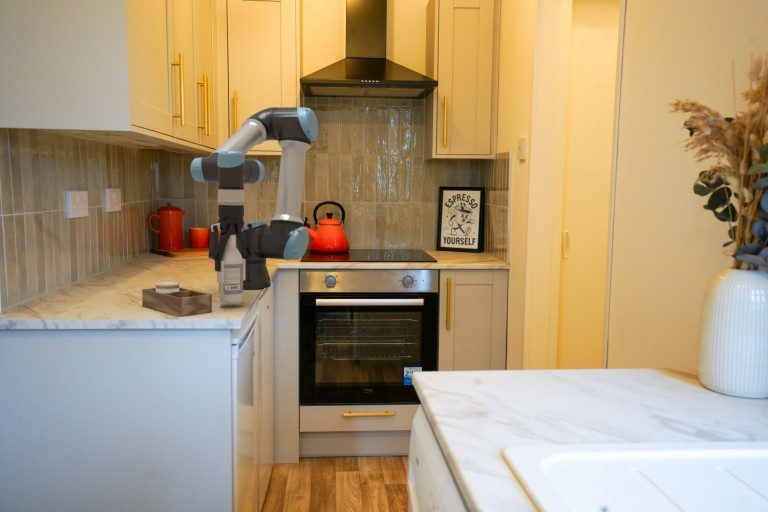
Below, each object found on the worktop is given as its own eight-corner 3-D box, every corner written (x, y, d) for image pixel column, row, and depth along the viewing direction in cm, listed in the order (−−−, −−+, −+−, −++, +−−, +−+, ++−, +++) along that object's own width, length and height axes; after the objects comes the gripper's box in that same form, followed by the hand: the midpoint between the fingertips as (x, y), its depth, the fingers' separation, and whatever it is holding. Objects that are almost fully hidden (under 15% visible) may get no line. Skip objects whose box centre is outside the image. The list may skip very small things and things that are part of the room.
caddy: (174, 302, 202) (174, 285, 201) (211, 312, 189) (211, 294, 188) (142, 305, 194) (142, 289, 194) (179, 316, 181) (179, 298, 180)
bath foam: (247, 301, 198) (247, 234, 196) (227, 304, 193) (227, 236, 191) (234, 297, 203) (234, 233, 200) (214, 300, 198) (214, 234, 195)
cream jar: (171, 300, 199) (171, 280, 199) (184, 303, 195) (184, 282, 194) (151, 302, 194) (150, 281, 194) (163, 306, 190) (163, 284, 189)
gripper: (250, 202, 204) (250, 276, 207) (194, 203, 190) (195, 282, 192) (265, 204, 199) (265, 279, 202) (209, 205, 185) (209, 286, 187)
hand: (231, 280), depth 197 cm, fingers closed on bath foam, 7 cm apart
